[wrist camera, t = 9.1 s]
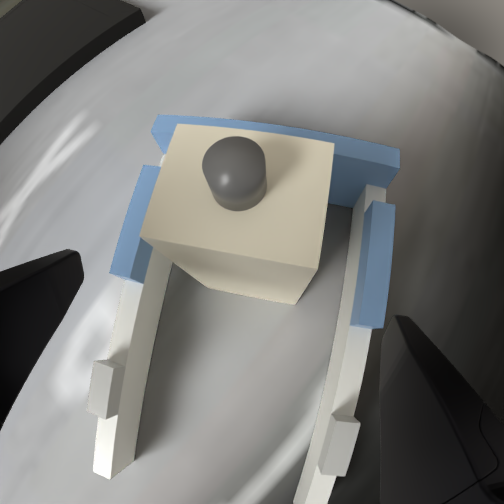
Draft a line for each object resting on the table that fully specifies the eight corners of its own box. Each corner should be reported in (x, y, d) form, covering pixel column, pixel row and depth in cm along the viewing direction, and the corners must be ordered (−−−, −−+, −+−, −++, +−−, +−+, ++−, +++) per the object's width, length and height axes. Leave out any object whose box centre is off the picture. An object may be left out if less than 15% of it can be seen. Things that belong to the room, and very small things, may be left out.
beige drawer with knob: (294, 305, 16) (325, 257, 6) (208, 288, 17) (118, 220, 7) (306, 239, 17) (341, 116, 7) (223, 224, 17) (166, 97, 8)
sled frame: (311, 503, 13) (321, 553, 8) (118, 455, 14) (72, 484, 10) (371, 195, 17) (399, 149, 12) (183, 165, 19) (157, 114, 14)
